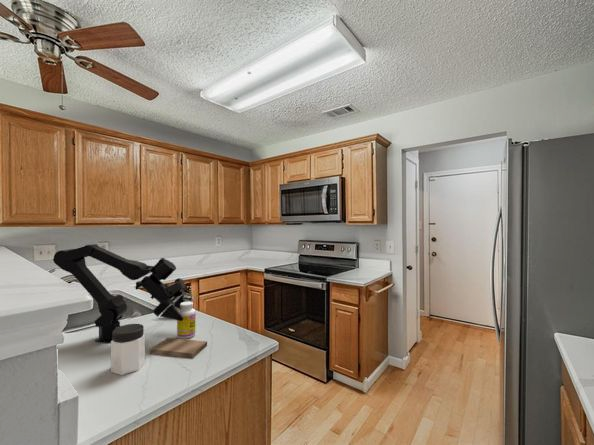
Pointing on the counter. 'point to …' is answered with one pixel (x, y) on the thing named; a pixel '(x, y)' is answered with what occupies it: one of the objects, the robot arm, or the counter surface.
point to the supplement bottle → (186, 321)
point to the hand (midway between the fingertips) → (186, 315)
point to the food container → (186, 299)
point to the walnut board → (179, 347)
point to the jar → (127, 349)
